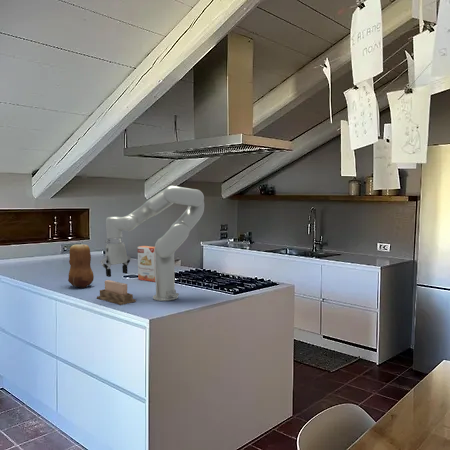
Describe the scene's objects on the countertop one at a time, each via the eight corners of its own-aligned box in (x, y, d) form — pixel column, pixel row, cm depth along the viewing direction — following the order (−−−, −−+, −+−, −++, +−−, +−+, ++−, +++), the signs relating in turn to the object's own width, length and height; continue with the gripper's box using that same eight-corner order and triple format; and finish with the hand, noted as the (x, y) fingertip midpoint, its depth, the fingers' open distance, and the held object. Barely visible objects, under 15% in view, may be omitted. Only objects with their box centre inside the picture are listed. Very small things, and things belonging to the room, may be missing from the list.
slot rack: (135, 301, 230) (135, 293, 229) (120, 305, 223) (120, 296, 223) (111, 295, 244) (111, 287, 243) (96, 298, 237) (96, 290, 237)
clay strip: (127, 300, 229) (127, 284, 228) (123, 300, 227) (122, 284, 226) (109, 295, 240) (108, 280, 239) (105, 296, 238) (104, 280, 237)
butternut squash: (87, 283, 275) (86, 242, 273) (97, 287, 265) (96, 244, 263) (64, 287, 266) (63, 244, 264) (74, 290, 256) (72, 246, 254)
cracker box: (137, 279, 287) (137, 246, 285) (144, 278, 292) (143, 245, 290) (154, 282, 279) (153, 247, 277) (161, 280, 284) (160, 246, 282)
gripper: (104, 243, 222) (106, 278, 224) (133, 239, 235) (135, 272, 236) (95, 242, 227) (97, 277, 229) (124, 239, 240) (126, 271, 241)
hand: (117, 274), depth 232 cm, fingers open, 9 cm apart
